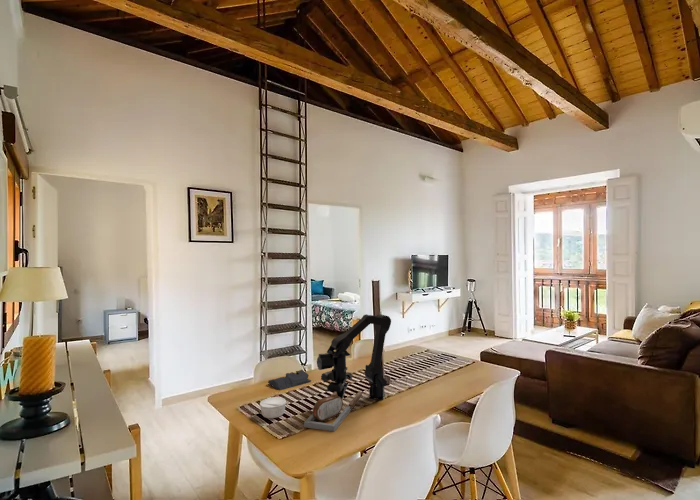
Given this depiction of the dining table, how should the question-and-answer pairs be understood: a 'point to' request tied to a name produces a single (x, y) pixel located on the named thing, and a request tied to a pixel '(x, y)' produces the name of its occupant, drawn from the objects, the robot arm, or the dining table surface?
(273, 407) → the ramekin
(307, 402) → the dining table surface
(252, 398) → the dining table surface
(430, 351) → the dining table surface
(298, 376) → the dark slate chunk
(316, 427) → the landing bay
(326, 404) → the tin
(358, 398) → the pair of brown bars
